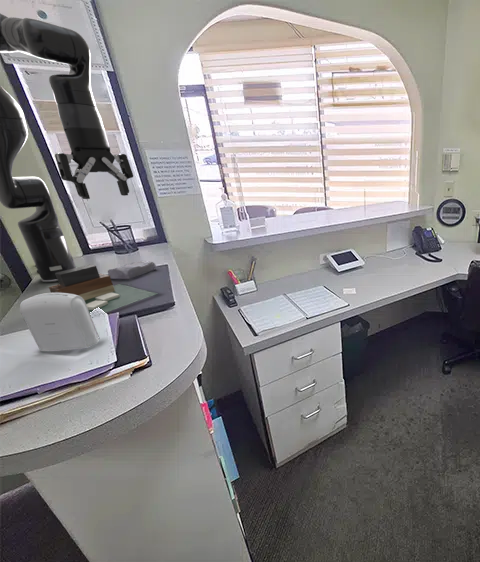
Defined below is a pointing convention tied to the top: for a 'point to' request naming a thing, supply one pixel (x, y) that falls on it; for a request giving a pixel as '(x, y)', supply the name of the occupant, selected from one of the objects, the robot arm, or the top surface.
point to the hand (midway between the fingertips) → (106, 197)
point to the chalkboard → (123, 297)
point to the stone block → (131, 270)
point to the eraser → (83, 282)
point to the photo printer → (59, 321)
